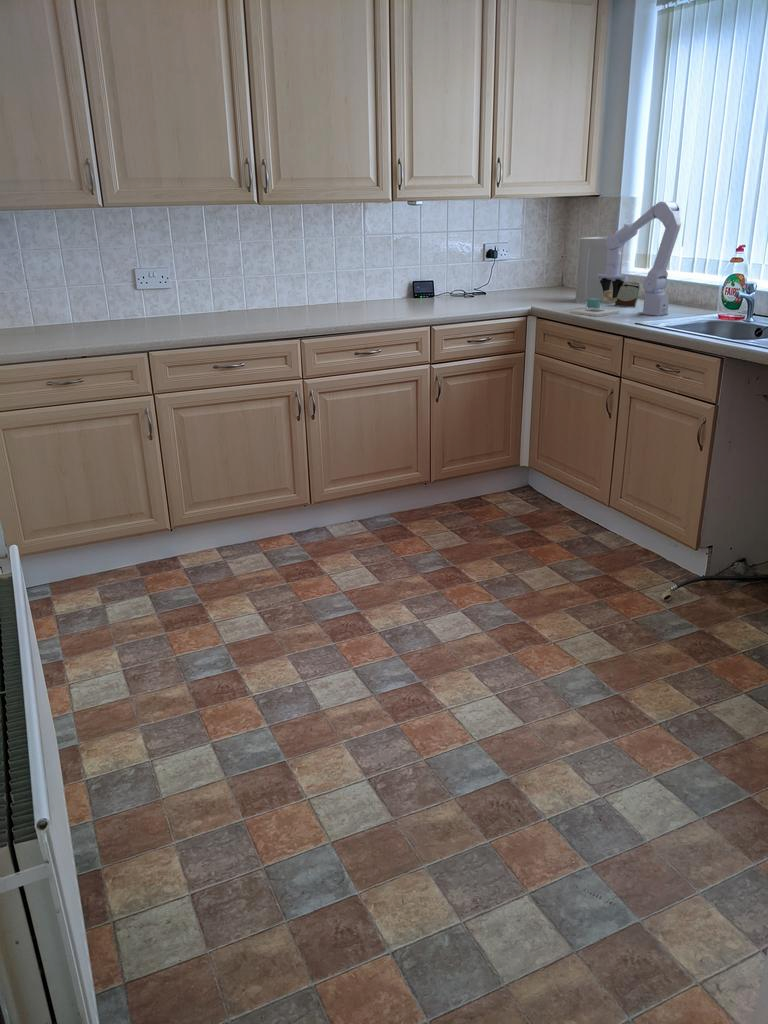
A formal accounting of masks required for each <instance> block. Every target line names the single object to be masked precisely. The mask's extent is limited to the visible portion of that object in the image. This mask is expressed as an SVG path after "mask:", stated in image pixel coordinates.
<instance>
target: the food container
mask: <svg viewBox="0 0 768 1024" xmlns="http://www.w3.org/2000/svg"><path fill="white" fill-rule="evenodd" d="M641 288H642V287H641V283H640V282H636V281H624V283H623V284H622V286H621V288H620V290H619V292H618V295H617V301H615V303H614V306H615V305H619V306H618V307H626V306H633V307H632V308H636V307H635V306H637V302H638V298H639V292H640V290H641Z"/></svg>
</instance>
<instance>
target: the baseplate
mask: <svg viewBox="0 0 768 1024" xmlns="http://www.w3.org/2000/svg"><path fill="white" fill-rule="evenodd" d="M619 312H620V311H619V310H614V309H613V310H612V309H605V308H587V307H585V308H580V309H573V310H570V313H571V314H575V315H582V314H583V315H582V316H589V315H591V316H590V317H596V316H599V317H603V316H602V315H605V316H609V315H608V314H612V315H616V314H615V313H618V314H619Z"/></svg>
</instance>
